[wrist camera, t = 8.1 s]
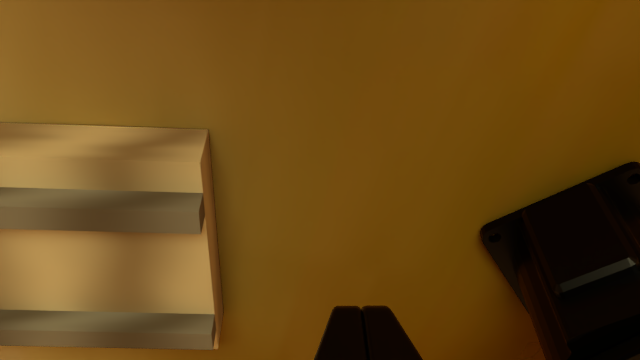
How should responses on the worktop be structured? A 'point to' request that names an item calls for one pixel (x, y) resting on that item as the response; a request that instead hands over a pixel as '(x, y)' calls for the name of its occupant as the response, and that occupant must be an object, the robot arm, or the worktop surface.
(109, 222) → the slider board
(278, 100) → the worktop surface
